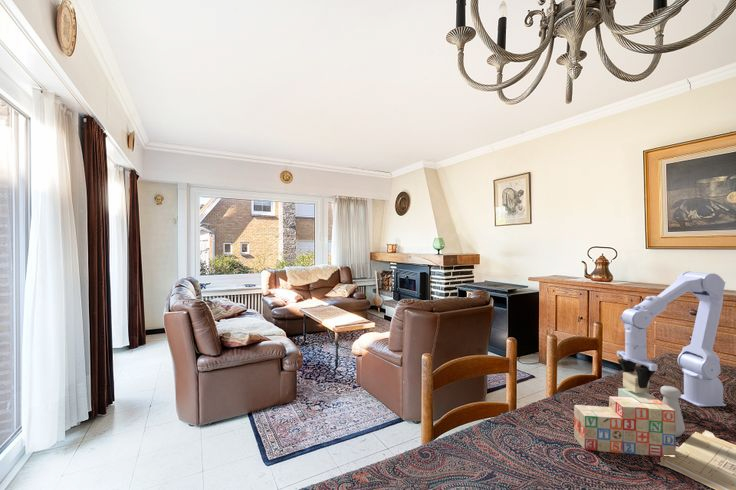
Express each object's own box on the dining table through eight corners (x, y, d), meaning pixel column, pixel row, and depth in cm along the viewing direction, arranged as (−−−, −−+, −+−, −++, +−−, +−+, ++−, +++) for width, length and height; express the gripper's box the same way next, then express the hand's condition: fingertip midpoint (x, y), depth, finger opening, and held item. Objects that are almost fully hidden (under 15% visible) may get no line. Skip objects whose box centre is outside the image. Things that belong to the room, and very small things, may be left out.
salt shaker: (678, 429, 97) (677, 384, 97) (689, 440, 92) (689, 393, 92) (653, 426, 99) (653, 382, 99) (663, 436, 94) (663, 390, 94)
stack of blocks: (584, 450, 88) (583, 404, 88) (573, 437, 94) (573, 393, 94) (676, 458, 84) (676, 409, 84) (659, 443, 91) (658, 398, 91)
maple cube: (636, 385, 117) (636, 371, 117) (649, 392, 112) (649, 377, 112) (622, 386, 117) (622, 372, 117) (635, 392, 112) (635, 377, 112)
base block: (637, 396, 118) (637, 387, 118) (655, 405, 111) (655, 396, 111) (618, 396, 118) (618, 388, 118) (634, 406, 111) (634, 397, 111)
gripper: (608, 338, 122) (608, 376, 122) (642, 351, 107) (642, 393, 107) (627, 338, 122) (627, 375, 122) (663, 351, 107) (664, 393, 107)
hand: (636, 384), depth 114 cm, fingers closed on maple cube, 5 cm apart
